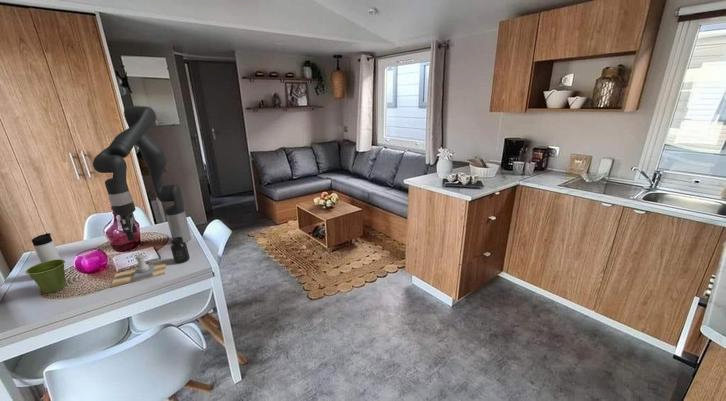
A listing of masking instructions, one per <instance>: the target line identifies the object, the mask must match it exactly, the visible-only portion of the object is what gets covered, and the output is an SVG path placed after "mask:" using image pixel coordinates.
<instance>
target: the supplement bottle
mask: <svg viewBox="0 0 726 401" xmlns="http://www.w3.org/2000/svg"><path fill="white" fill-rule="evenodd" d="M170 242H171V245H170V250H171V254H172V257H173V261H174V263H176V264H182V263H186V262H188V261H189V260H190V259H191V258H190V253H189V249H188V246H187V245H188V244H187V242H183V239H182V237H176V238H173V239H172V238H171V239H170Z"/></svg>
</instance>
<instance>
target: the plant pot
mask: <svg viewBox="0 0 726 401" xmlns="http://www.w3.org/2000/svg"><path fill="white" fill-rule="evenodd" d="M65 263H66V260H65V259H62V258H60V259H56V260H50V261H46V262H42V263H41V262H40V263H37V264H34V265H33V266H30V267H29V268H28V269H26V271H25V274H26V275H29V277H30V278H31V279H33V281H34V282H35V283H36V285H37V286H38V287H39V289H40V290H41V291H42V293H44V294H51V293H55V292H58V291H60V290H61V289H64V288H65V287H66V285H67V283H66V275H65V273H66V272H65V273H64V269H65Z"/></svg>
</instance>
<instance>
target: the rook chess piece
mask: <svg viewBox="0 0 726 401" xmlns="http://www.w3.org/2000/svg"><path fill="white" fill-rule="evenodd" d="M144 257H145V255H144V254H143V253H139V254H137V255H135V259H136V261H137V264H138V265H137V268H138V272H141V273H142V272H146V271H148V270H149V266H148V265H149V264H148V263H146V261H145V258H144Z"/></svg>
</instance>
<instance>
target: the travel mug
mask: <svg viewBox="0 0 726 401" xmlns="http://www.w3.org/2000/svg"><path fill="white" fill-rule="evenodd" d="M51 235H52V233H50V232H47V233H45V234H40V235H37V236H35V237H33V238H32V239H31V243H32V246H33V249H35V253H36V255H37V257H38V259H39V262H40V263H42V262H46V261H50V260H56V259H61V257H60V254H59V252H58V248H57V247H56V245H55V242H54V240H53V238H52V236H51ZM64 273H66V269H65V268H64Z"/></svg>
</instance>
